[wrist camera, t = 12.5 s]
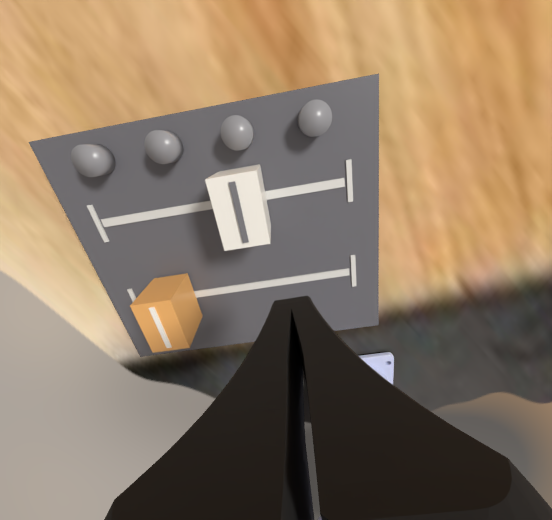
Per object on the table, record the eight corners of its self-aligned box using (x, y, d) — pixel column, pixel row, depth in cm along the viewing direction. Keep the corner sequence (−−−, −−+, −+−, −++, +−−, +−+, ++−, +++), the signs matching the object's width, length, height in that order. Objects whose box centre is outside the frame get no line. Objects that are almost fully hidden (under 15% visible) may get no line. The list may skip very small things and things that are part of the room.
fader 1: (202, 315, 19) (189, 349, 16) (171, 320, 19) (152, 354, 16) (187, 273, 17) (169, 300, 14) (153, 278, 18) (128, 307, 15)
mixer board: (369, 309, 21) (384, 335, 19) (151, 339, 23) (133, 368, 20) (366, 81, 15) (388, 67, 12) (56, 141, 16) (8, 142, 13)
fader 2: (271, 224, 16) (270, 244, 13) (233, 230, 16) (224, 251, 13) (260, 164, 15) (256, 170, 12) (218, 171, 15) (204, 179, 12)
